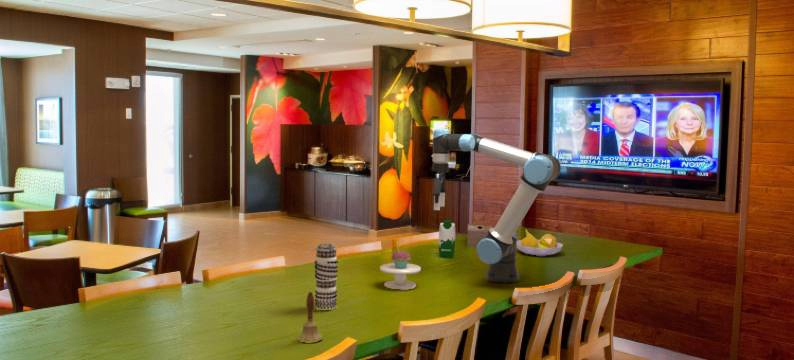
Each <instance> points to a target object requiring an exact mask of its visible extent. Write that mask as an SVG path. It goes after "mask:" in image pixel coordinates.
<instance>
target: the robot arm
mask: <svg viewBox="0 0 794 360" xmlns="http://www.w3.org/2000/svg"><path fill="white" fill-rule="evenodd" d="M450 151H460V152H476V153H479V154H482V155H485V156H488V157H491V158H494V159H496V160H499V161H503V162H506V163H509V164H511V165H515V166H517V167H519V168H520V167H521V168H523V171H522V172H523V173H522V174H521V176H520V182H521V183H520V185H519V186H518V188H517V190H516V191H515V193H514V194H513V196H512V198H511V199H510V201H509V203H508V204H507V206H506V208H505V210H504V211H503V213H502V215H500V218H499V220H498V221H497V223H496V225H495V226H494V227H492V228H490V230H489V231H488V233H487V235H486V236H485V238H484V239H482V240H481V241H480V242H479V243H478V245H477V247H476V253H477V254H476V255H477V256H478V258H479V260H481V262H483V263H485V264H486V265H487V264H489V265H488V268H487V270H486V271H487V272H486V273H485V274H486V275H485V276H486V277H485V279H486V280H487V281H489V282H492V281H493V283H497V282H503V283H502V284H508V283H507V282H514V283H516V282H515V281H518V280H519V281H520V274H519V271H518V268H517V267H518V266H517V261H516V260H517V246H516V245H517V241H518V239H517V237H518V236H517V232H516V231H517V230H518V227H519V226H520V224H521V223H522V221H523V219H525V217H526V214H527V213H528V211H529V209H530V208H531V206H532V205H533V204H534V201H535V200H536V198H537V197H538V195H539V194H540V193H543V192H545V190H546V188H547V187H548V185H549V184H550V182H552V181H554V180H555V179H557V178H558V177H559V176H560V173H561V170H562V167H561V163H560V161H559V159H558V158H557V157H555V156H553V155H550V154H545V153H542V152H539V151H536V152H534V153H533V152H531V151H527V150H525V149H521V148H519V147H516V146H512V145H508V144H506V143H504V142H503V143H502V142H500V141H496V140H495V139H494V140H493V139H490V138H487V137H483V136H482V135H480V134H477V133H468V134H467V133H459V134H458V133H451V132H450V130H449V129H446V128H445V129H442V128H441V129H440V128H439V129H438V128H437V129H434V130H433V135H432V155H431V156H430V157H431V158H432V164H431V165H432V166H431V170H432V171H433V172H436V173H435V174H434V186H433V192H432V194H431V195H432V197H433V211H440V210H441V207H443V208H444V207H445V205H446V201H445V200H446V193H447V191H448V190H447V189H446V172H448V171H449V166H450V165H449V162H450ZM519 281H518V282H519Z"/></svg>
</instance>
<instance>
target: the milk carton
mask: <svg viewBox="0 0 794 360" xmlns="http://www.w3.org/2000/svg"><path fill="white" fill-rule="evenodd" d="M455 248H456V224H455V222H452V220H447V219H446V220H443V222H440V223H439V229H438V253H439V258H440V259H442V258H443V259H453V258H454V254H455Z"/></svg>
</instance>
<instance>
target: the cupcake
mask: <svg viewBox="0 0 794 360" xmlns="http://www.w3.org/2000/svg"><path fill="white" fill-rule="evenodd" d="M396 248H397V249H396V250H397V251H395V252H393V253H392V255H391V257H390V258H391V260H392V262H393V263H394V264H395V267H396V268H400V269H403V268H406V266H407V263H408V264H409V262H410V260H412V257H411V254H410V253H408V252H407V251H403V250H401V251H400V248H399V242H398V241H396Z"/></svg>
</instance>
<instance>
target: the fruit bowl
mask: <svg viewBox="0 0 794 360" xmlns="http://www.w3.org/2000/svg"><path fill="white" fill-rule="evenodd" d="M524 231H525V237H524V238H522V239H520V240H518V239H517V245H516V249H518V250H519V251H520V252H522V253H524V254H525V255H528V254H529V256H534V255H536V256H535V257H547V255H548V256H553V255H555V254H557V253H559V252H561V251H562V248H563V243H560V242H559V241H558V242H557V238H556V237H555V236H554V235H552V234H551V233H545V234H544V235H542V236H541V237H540V239H537V238H536V237H535V236H534V235H533V234H531V233H530V232H529V231H528V229H525V230H524Z"/></svg>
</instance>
